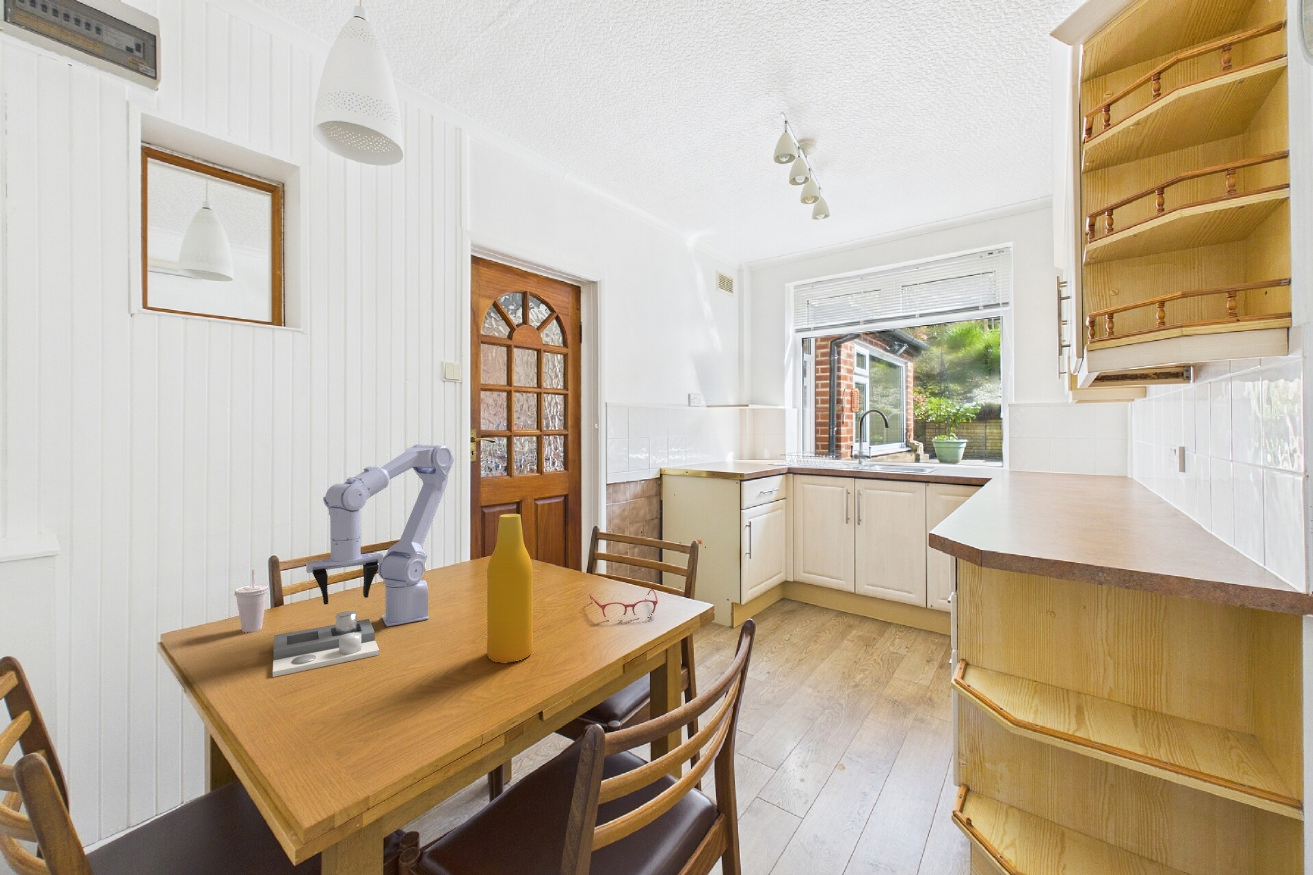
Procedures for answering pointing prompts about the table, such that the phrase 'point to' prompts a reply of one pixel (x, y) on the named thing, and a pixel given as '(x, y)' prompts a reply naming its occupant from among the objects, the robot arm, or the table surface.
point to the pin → (346, 623)
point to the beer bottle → (509, 594)
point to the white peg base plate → (328, 655)
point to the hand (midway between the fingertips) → (346, 599)
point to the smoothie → (251, 605)
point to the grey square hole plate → (316, 640)
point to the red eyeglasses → (627, 604)
